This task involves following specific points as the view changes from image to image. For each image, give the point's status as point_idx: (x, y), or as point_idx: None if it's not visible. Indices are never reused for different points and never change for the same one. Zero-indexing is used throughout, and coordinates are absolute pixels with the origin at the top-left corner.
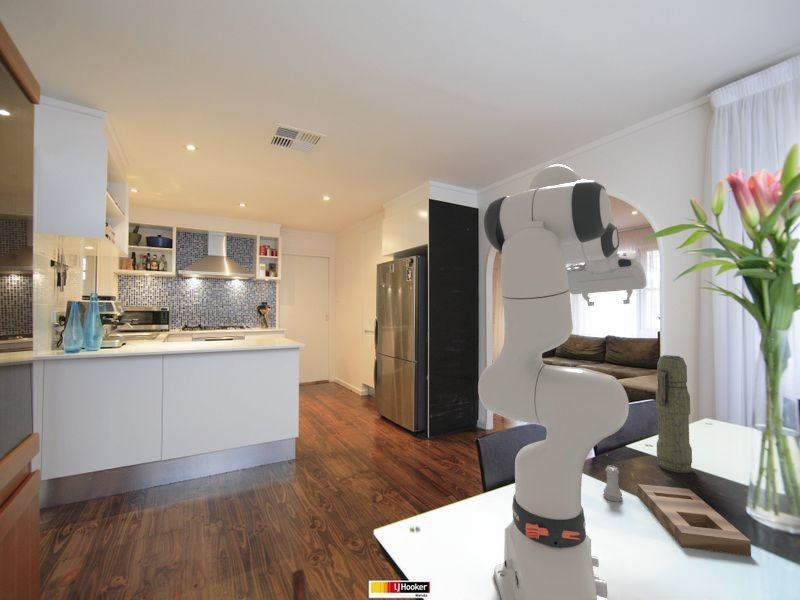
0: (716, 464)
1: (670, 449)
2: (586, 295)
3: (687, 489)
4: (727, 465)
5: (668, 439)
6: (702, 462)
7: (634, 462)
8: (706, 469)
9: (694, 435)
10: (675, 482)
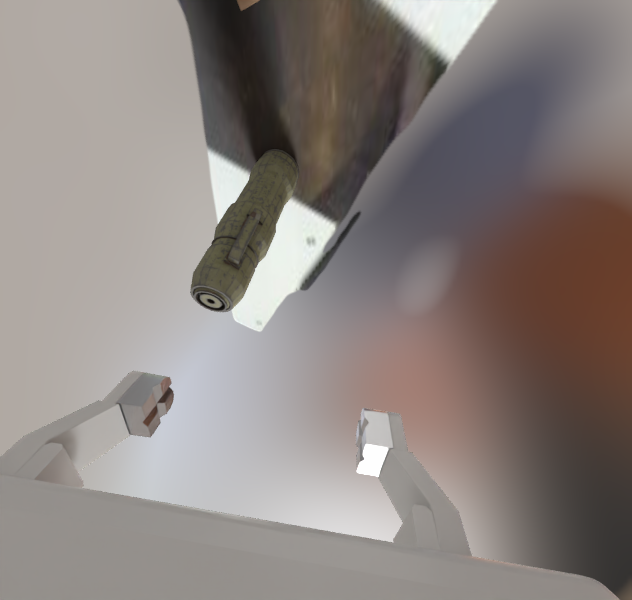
0: None
1: (272, 167)
2: (420, 516)
3: (243, 5)
4: None
5: (270, 178)
6: None
7: (329, 161)
8: (245, 181)
9: (267, 289)
10: (273, 98)
